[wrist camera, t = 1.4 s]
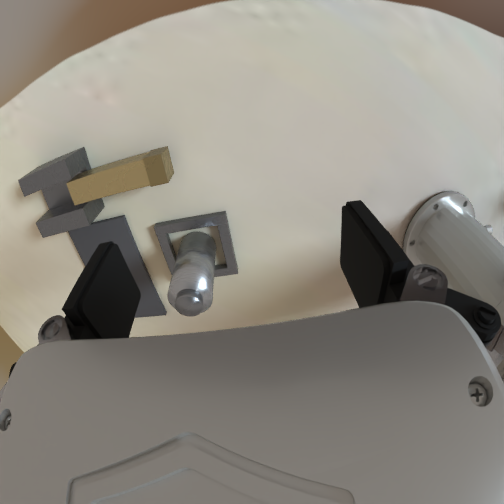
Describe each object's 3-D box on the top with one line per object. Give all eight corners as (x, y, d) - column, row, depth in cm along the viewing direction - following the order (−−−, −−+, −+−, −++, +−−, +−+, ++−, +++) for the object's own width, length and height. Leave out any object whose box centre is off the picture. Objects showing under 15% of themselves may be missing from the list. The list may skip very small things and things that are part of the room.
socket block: (84, 146, 23) (64, 159, 19) (104, 206, 27) (89, 225, 23) (38, 166, 23) (18, 180, 20) (59, 219, 27) (42, 237, 24)
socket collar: (225, 211, 28) (225, 214, 28) (237, 269, 33) (237, 273, 32) (155, 223, 28) (153, 227, 28) (175, 277, 33) (174, 282, 32)
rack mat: (124, 215, 28) (122, 217, 27) (166, 312, 36) (166, 315, 36) (69, 228, 28) (67, 230, 27) (117, 316, 36) (116, 318, 36)
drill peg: (211, 228, 29) (205, 287, 22) (219, 259, 32) (216, 319, 24) (175, 234, 29) (159, 292, 22) (185, 263, 32) (174, 323, 24)
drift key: (167, 146, 23) (160, 153, 21) (174, 172, 24) (168, 182, 22) (77, 172, 23) (65, 182, 21) (85, 195, 25) (74, 206, 22)
